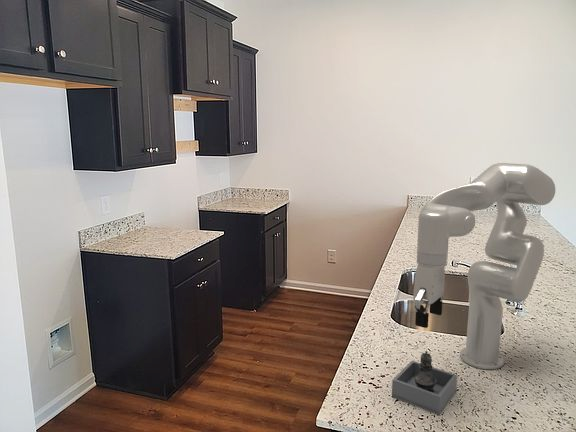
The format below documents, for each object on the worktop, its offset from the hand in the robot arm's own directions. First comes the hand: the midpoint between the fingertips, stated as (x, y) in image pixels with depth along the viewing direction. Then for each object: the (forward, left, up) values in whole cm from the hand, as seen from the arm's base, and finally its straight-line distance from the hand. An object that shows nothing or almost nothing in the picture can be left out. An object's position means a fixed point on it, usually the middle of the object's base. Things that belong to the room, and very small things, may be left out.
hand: (428, 320), depth 119 cm
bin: (0, 0, -22) cm, 22 cm away
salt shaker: (0, 0, -21) cm, 21 cm away
